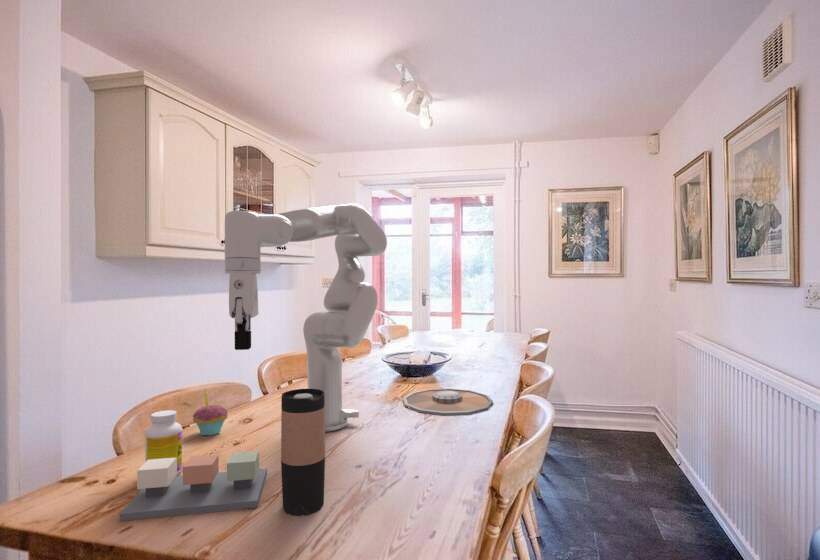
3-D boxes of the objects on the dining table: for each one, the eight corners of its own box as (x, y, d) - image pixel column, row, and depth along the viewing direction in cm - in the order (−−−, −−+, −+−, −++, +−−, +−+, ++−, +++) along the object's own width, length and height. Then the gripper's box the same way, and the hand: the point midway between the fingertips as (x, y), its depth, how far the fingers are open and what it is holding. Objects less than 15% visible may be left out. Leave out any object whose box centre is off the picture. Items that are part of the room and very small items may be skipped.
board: (267, 474, 92) (267, 457, 92) (257, 507, 78) (257, 488, 79) (151, 484, 88) (151, 466, 88) (119, 521, 74) (119, 500, 74)
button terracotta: (218, 471, 86) (218, 454, 86) (212, 482, 81) (212, 464, 81) (190, 473, 85) (190, 456, 85) (182, 485, 80) (182, 466, 80)
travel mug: (285, 496, 83) (285, 388, 83) (327, 494, 83) (326, 387, 83) (277, 518, 75) (276, 399, 75) (322, 515, 76) (322, 398, 76)
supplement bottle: (183, 477, 91) (183, 414, 91) (146, 485, 87) (146, 420, 88) (180, 466, 97) (180, 406, 97) (144, 473, 93) (144, 411, 93)
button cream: (176, 474, 85) (176, 457, 85) (167, 486, 80) (167, 468, 80) (148, 477, 84) (148, 459, 84) (137, 489, 79) (137, 470, 79)
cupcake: (214, 439, 113) (214, 392, 113) (185, 437, 115) (185, 390, 115) (234, 428, 122) (234, 384, 122) (206, 426, 123) (206, 383, 123)
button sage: (258, 467, 88) (258, 451, 88) (255, 478, 83) (255, 461, 83) (232, 470, 87) (232, 453, 87) (226, 481, 82) (226, 463, 82)
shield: (409, 381, 165) (491, 384, 160) (409, 390, 165) (491, 393, 160) (394, 404, 135) (494, 408, 130) (394, 415, 135) (494, 419, 130)
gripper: (255, 265, 93) (255, 353, 92) (264, 268, 107) (264, 344, 107) (217, 265, 91) (217, 355, 91) (231, 268, 106) (232, 345, 106)
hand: (243, 348), depth 99 cm, fingers closed
